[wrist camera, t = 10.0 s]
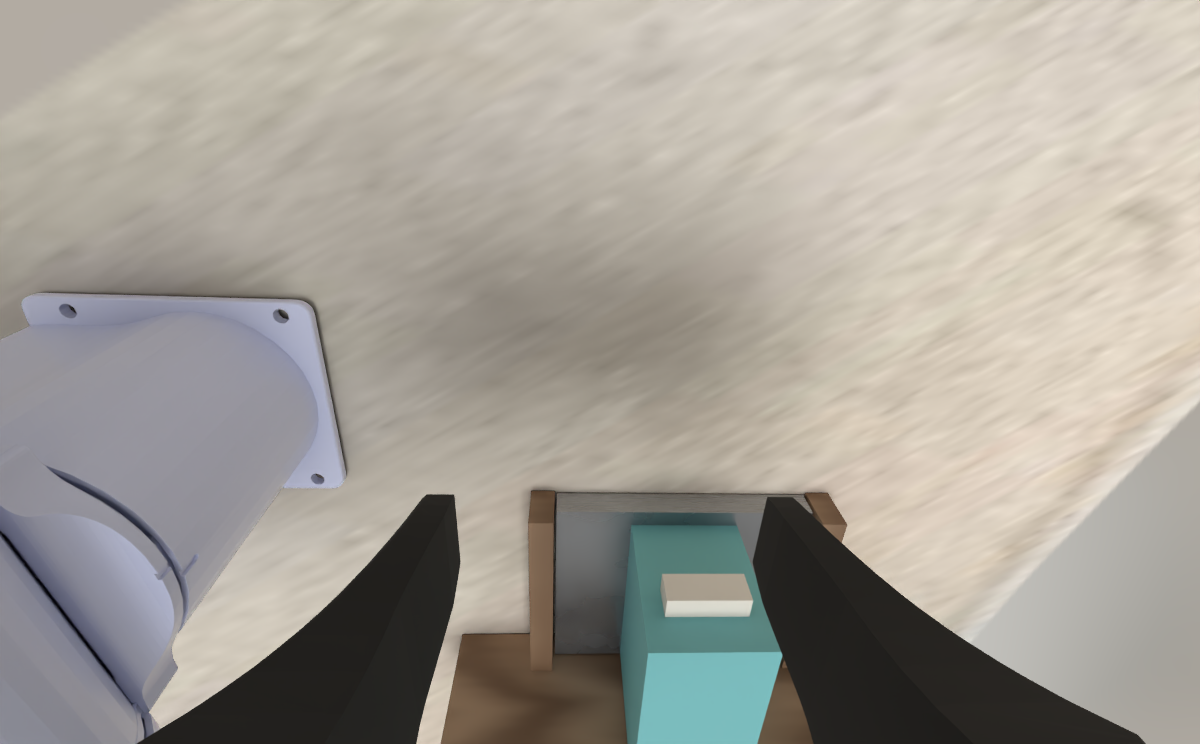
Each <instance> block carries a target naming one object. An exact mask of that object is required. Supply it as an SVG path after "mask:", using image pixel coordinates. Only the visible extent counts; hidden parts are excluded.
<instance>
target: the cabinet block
mask: <svg viewBox="0 0 1200 744" xmlns="http://www.w3.org/2000/svg"><path fill="white" fill-rule="evenodd" d="M620 659H621V671H622V683H623V695H624V707H625V719H626V732H627V744H757V743H758V739H759V736H760V732H761V729H762V725H763V722H764V718H765V715H766V711H767V708H768V704H769V701H770V697H771V694H772V690H773V687H774V683H775V680H776V676H777V673H778V669H779V666H780V662H781V659H782V653H781V650H780V648H779V645H778V643H777V640H776V637H775V635H774V632H773V630H772V627H771V624H770V622H769V619H768V617H767V614H766V611H765V608H764V606H763V603H762V599H761V595H760V591H759V588H758V584H757V579H756V576H755V573H754V571H753V568H752V565H751V563H750V560H749V557H748V554H747V552H746V549H745V546H744V543H743V541H742V538H741V535H740V533H739V530H738V527H737V526H707V525H631V535H630V546H629V557H628V568H627V580H626V591H625V602H624V613H623V624H622V635H621V646H620Z"/></svg>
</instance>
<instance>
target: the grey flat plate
mask: <svg viewBox="0 0 1200 744" xmlns="http://www.w3.org/2000/svg"><path fill="white" fill-rule="evenodd" d="M767 497H793V498H794V499H795V500H796V501H798V502H799V503H800V504H801V505H802V506H803V507H804V508H805V509H806V510H807V511H808V512H809V513H810V514H811V515H813V512H812V510H811V508H810V507H809V505H808V503H807V501H806V499H805V498H804V496H803V495H759V494H627V493H557V515H556V599H555V654H616V653H620V646H621V635H622V624H623V613H624V602H625V591H626V580H627V568H628V557H629V546H630V535H631V525H707V526H737V527H738V530H739V533H740V535H741V538H742V541H743V543H744V546H745V549H746V552H747V554H748V557H749V560H750V563H751V565H752V568H753V571H754V567H753V557H754V553H755V548H756V544H757V540H758V535H759V531H760V526H761V522H762V517H763V513H764V508H765V504H766V500H767ZM754 573H755V571H754ZM755 576H756V575H755Z"/></svg>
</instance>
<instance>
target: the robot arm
mask: <svg viewBox="0 0 1200 744" xmlns="http://www.w3.org/2000/svg"><path fill="white" fill-rule="evenodd" d="M69 305H71V306H72V307H74V309H75V310H76V313H74V312H73V311H72V310H71V309H70V308H69ZM21 306H22V310H23V312H24V314H25V317H26V319H27V321H28V323H29V327H27V328H24V329H22V330H20V331H18V332H16V333H13V334H11V335H9V336H7V337H5V338H2V339H0V744H416V742H417V737H418V732H419V726H420V722H421V718H422V714H423V710H424V706H425V702H426V699H427V695H428V692H429V688H430V685H431V681H432V678H433V674H434V671H435V667H436V664H437V660H438V657H439V654H440V650H441V647H442V643H443V640H444V636H445V633H446V629H447V626H448V622H449V619H450V615H451V611H452V608H453V604H454V598H455V592H456V586H457V580H458V574H459V568H460V552H459V541H458V530H457V519H456V508H455V498H454V495H428V494H427V495H426V496H425V497H424V498H422V500H421V501H420V502H419V504H418V505H417V506H416V507H415V509H414V510H413V511H412V513H411V514H410V515H409V516H408V518H407V519H406V520H405V521H404V523H403V524H402V525H401V526H400V528H399V529H398V530H397V531H396V532H395V534H394V535H393V536H392V537H391V538H390V540H389V541H388V542H387V543H386V544H385V545H384V546H383V548H382V549H381V550H380V551H379V552H378V553H377V554H376V556H375V557H374V558H373V559H372V560H371V561H370V562H369V564H368V565H367V566H366V567H365V568H364V569H363V570H362V571H361V572H360V573H359V574H358V575H357V576H356V577H355V578H354V579H353V580H352V581H351V582H350V583H349V584H348V585H347V587H346V588H345V589H344V590H343V591H342V592H341V593H340V594H339V595H338V596H337V597H336V598H335V599H334V600H332V601H331V602H330V603H329V604H328V605H327V606H326V607H325V608H324V609H323V610H322V611H321V612H320V613H319V614H318V615H316V616H315V617H314V618H313V619H312V620H311V621H310V622H309V623H307V624H306V625H305V626H304V627H303V628H302V629H301V630H299V631H298V632H297V633H296V634H295V635H293V636H292V637H291V638H290V639H288V640H287V641H286V642H285V643H284V644H282V645H281V646H280V647H279V648H277V649H276V650H275V651H274V652H272V653H271V654H270V655H269V656H267V657H266V658H265V659H264V660H262V661H261V662H260V663H258V664H257V665H256V666H255V667H253V668H252V669H251V670H249V671H248V672H246V673H245V674H244V675H242V676H241V677H239V678H238V679H236V680H235V681H234V682H232V683H231V684H229V685H228V686H227V687H225V688H224V689H222V690H221V691H219V692H218V693H216V694H215V695H213V696H212V697H210V698H209V699H207V700H206V701H204V702H203V703H201V704H200V705H198V706H197V707H195V708H194V709H192V710H191V711H189V712H188V713H186V714H184V715H183V716H181V717H180V718H178V719H176V720H175V721H173V722H171V723H170V724H168V725H166V726H165V727H163V728H161V729H160V728H159V726H158V723H157V722H156V721H155V719H154V718H153V717H152V716H151V714H150V713H148V712H149V711H150V710H151V708H152V707H153V705H154V704H155V702H156V701H157V699H158V698H159V696H160V695H161V693H162V692H163V690H164V689H165V687H166V686H167V684H168V683H169V681H170V680H171V678H172V677H173V675H174V674H175V672H176V671H177V669H178V667H177V665H176V663H175V661H174V659H173V655H172V644H173V642H174V640H175V637H176V635H177V634H178V633H179V631H180V630H181V629H182V627H183V626H184V625H185V623H186V622H187V620H188V619H189V618H190V616H191V615H192V613H193V612H194V611H195V609H196V608H197V606H198V605H199V604H200V602H201V601H202V599H203V598H204V597H205V595H206V594H207V592H208V591H209V590H210V588H211V587H212V585H213V584H214V583H215V581H216V580H217V578H218V577H219V576H220V574H221V573H222V571H223V570H224V569H225V567H226V566H227V564H228V563H229V562H230V560H231V559H232V557H233V556H234V555H235V553H236V552H237V550H238V549H239V548H240V546H241V545H242V543H243V542H244V541H245V539H246V538H247V536H248V535H249V534H250V532H251V531H252V529H253V528H254V527H255V525H256V524H257V522H258V521H259V520H260V518H261V517H262V515H263V514H264V512H265V511H266V510H267V508H268V507H269V505H270V504H271V503H272V501H273V500H274V498H275V497H276V496H277V494H278V493H279V491H280V490H281V489H282V488H338V487H340V486H341V485H342V484H343V482H344V480H345V479H346V470H345V465H344V460H343V455H342V450H341V445H340V440H339V435H338V430H337V425H336V420H335V414H334V409H333V404H332V399H331V394H330V389H329V384H328V379H327V374H326V369H325V364H324V359H323V353H322V348H321V343H320V338H319V333H318V328H317V323H316V318H315V313H314V311H313V308H312V307H311V306H310V305H309V304H308V303H306V302H304V301H302V300H294V299H256V298H218V297H180V296H143V295H105V294H67V293H35V294H32V295H29V296H27V297H25V298H24V299H23V300H22V303H21ZM278 309H281V310H284V311H285V312H287V314H288V316H289V319H284V318H282V317H281V316H280V315H279V313H278ZM316 474H320V475H322V476H323V477H324V478H319V477H318V476H316ZM753 567H754V571H755V575H756V579H757V584H758V588H759V591H760V595H761V599H762V603H763V606H764V608H765V611H766V614H767V617H768V619H769V622H770V624H771V627H772V630H773V632H774V635H775V637H776V640H777V643H778V645H779V648H780V650H781V653H782V655H783V658H784V661H785V663H786V666H787V668H788V671H789V673H790V676H791V678H792V681H793V684H794V686H795V689H796V691H797V694H798V696H799V699H800V702H801V705H802V708H803V711H804V714H805V717H806V719H807V723H808V726H809V730H810V733H811V737H812V740H813V744H1145V742H1144V741H1143V740H1142V739H1141V738H1140V737H1139V736H1138V735H1137V734H1135V733H1133V732H1131V731H1129V730H1126V729H1124V728H1123V727H1120V726H1118V725H1116V724H1114V723H1112V722H1110V721H1108V720H1106V719H1104V718H1102V717H1100V716H1098V715H1096V714H1094V713H1092V712H1090V711H1088V710H1086V709H1084V708H1081V707H1080V706H1078V705H1076V704H1073V703H1071V702H1070V701H1068V700H1066V699H1064V698H1062V697H1060V696H1058V695H1056V694H1054V693H1053V692H1051V691H1049V690H1047V689H1046V688H1044V687H1042V686H1040V685H1038V684H1036V683H1034V682H1033V681H1031V680H1029V679H1027V678H1026V677H1024V676H1022V675H1020V674H1019V673H1017V672H1015V671H1014V670H1012V669H1010V668H1008V667H1007V666H1005V665H1003V664H1002V663H1000V662H998V661H997V660H995V659H993V658H992V657H990V656H989V655H987V654H985V653H984V652H982V651H981V650H979V649H978V648H976V647H974V646H973V645H971V644H970V643H968V642H967V641H965V640H964V639H962V638H961V637H959V636H958V635H956V634H955V633H953V632H952V631H950V630H949V629H947V628H946V627H944V626H943V625H942V624H940V623H939V622H938V621H936V620H935V619H933V618H932V617H931V616H929V615H928V614H926V613H925V612H924V611H922V610H921V609H919V608H918V607H917V606H915V605H914V604H913V603H912V602H910V601H909V600H908V599H906V598H905V597H904V596H903V595H901V594H900V593H899V592H898V591H896V590H895V589H894V588H893V587H891V586H890V585H889V584H888V583H887V582H885V581H884V580H883V579H882V578H881V577H879V576H878V575H877V574H876V573H875V572H873V571H872V570H871V569H870V568H869V567H868V566H867V565H865V564H864V563H863V562H862V561H861V560H860V559H859V558H857V557H856V556H855V555H854V554H853V553H852V552H851V551H850V550H849V549H848V548H846V547H845V546H844V545H843V544H842V543H841V542H840V541H839V540H838V539H837V538H836V537H835V536H834V535H832V534H831V533H830V532H829V531H828V530H827V529H826V528H825V527H824V526H823V525H822V524H821V523H820V522H819V521H818V520H817V519H816V518H815V517H814V516H813V515H811V514H810V513H809V512H808V511H807V510H806V509H805V508H804V507H803V506H802V505H801V504H800V503H799V502H798V501H796V500H795V499H794V498H793V497H767V500H766V504H765V508H764V513H763V517H762V522H761V526H760V531H759V535H758V540H757V544H756V548H755V553H754V557H753Z"/></svg>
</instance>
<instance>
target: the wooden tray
mask: <svg viewBox="0 0 1200 744" xmlns="http://www.w3.org/2000/svg"><path fill="white" fill-rule="evenodd" d="M804 498H805V499H806V501H807V503H808V505H809V507H810V508H811V510H812V512H813V516H814V517H815V518H816V519H817V520H818V521H819V522H820V523H821V524H822V525H823V526H824V527H825V528H826V529H827V530H828V531H829V532H830V533H831V534H832V535H834V536H835V537H836V538H837V539H838V540H839V541H840V542H841V543H842V540H843V537H844V533H845V530H846V527H847V524H846V522H845V520H844V519H843V517H842V515H841V514H840V512H839V511H838V509H837V507H836V506H835V504H834V503H833V501H832V499H831V498H830V496H829V494H828V493H805V497H804ZM554 534H555V491H531V501H530V511H529V521H528V539H529V596H530V634H463V635H462V640H461V645H460V650H459V655H458V660H457V665H456V670H455V675H454V680H453V685H452V690H451V695H450V700H449V705H448V710H447V715H446V720H445V725H444V730H443V735H442V740H441V744H627V732H626V719H625V707H624V695H623V683H622V671H621V659H620V653H616V654H555V634H554ZM757 744H813V740H812V737H811V733H810V730H809V726H808V723H807V719H806V717H805V714H804V711H803V708H802V705H801V702H800V699H799V696H798V694H797V691H796V689H795V686H794V684H793V681H792V678H791V676H790V673H789V671H788V668H787V666H786V663H785V661H784V658H783V655H782V659H781V662H780V666H779V669H778V673H777V676H776V680H775V683H774V687H773V690H772V694H771V697H770V701H769V704H768V708H767V711H766V715H765V718H764V722H763V725H762V729H761V732H760V736H759V739H758V743H757Z"/></svg>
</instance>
